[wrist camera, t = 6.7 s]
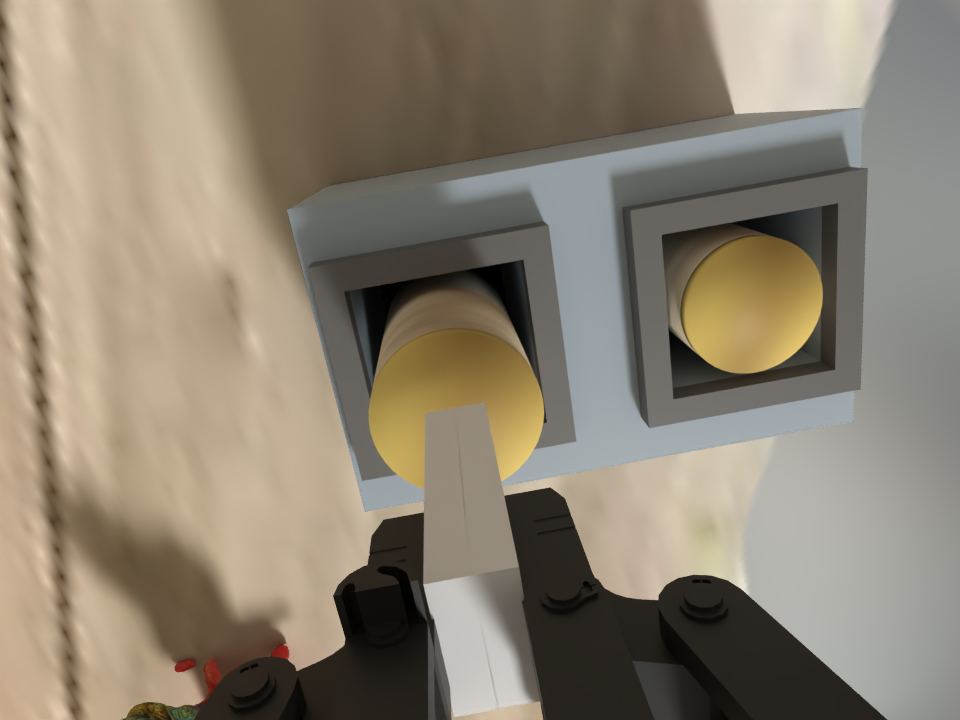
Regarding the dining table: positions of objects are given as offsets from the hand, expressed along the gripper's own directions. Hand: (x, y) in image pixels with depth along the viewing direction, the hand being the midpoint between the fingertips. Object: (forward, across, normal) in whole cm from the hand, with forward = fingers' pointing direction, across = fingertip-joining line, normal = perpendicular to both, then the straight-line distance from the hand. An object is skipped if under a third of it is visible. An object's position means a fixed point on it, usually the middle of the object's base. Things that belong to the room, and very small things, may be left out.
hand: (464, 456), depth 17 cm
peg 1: (+12, 0, 0) cm, 12 cm away
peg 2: (+17, +11, 0) cm, 20 cm away
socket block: (+18, +5, 0) cm, 19 cm away
